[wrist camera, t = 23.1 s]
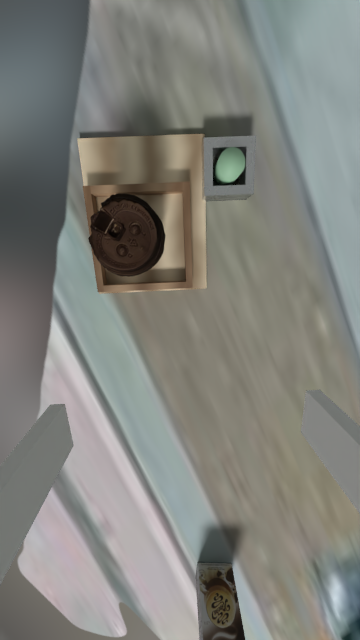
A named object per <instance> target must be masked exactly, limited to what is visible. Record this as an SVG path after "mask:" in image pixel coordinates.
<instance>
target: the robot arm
mask: <svg viewBox="0 0 360 640" xmlns="http://www.w3.org/2000/svg"><path fill="white" fill-rule="evenodd" d="M301 433H302V434H303V436H304V437H305V439H306V440H307V441H308V443H309V444H310V445H311V447H312V448H313V450H314V451H315V452H316V454H317V455H318V457H319V458H320V459H321V461H322V462H323V464H324V465H325V466H326V468H327V469H328V470H329V472H330V473H331V475H332V476H333V477H334V479H335V480H336V482H337V483H338V484H339V486H340V487H341V488H342V490H343V491H344V493H345V494H346V495H347V497H348V498H349V500H350V501H351V502H352V504H353V505H354V507H355V508H356V509H357V511H358V512H359V513H360V426H359V425H358V424H357V423H355V422H354V421H353V420H352V419H351V418H350V417H349V416H348V415H347V414H346V413H345V412H343V411H342V410H341V409H340V408H339V407H338V406H337V405H336V404H335V403H334V402H333V401H331V400H330V399H329V398H328V397H327V396H326V395H325V394H324V393H323V392H322V391H321V390H309V391H306V395H305V404H304V412H303V420H302V428H301ZM72 447H73V441H72V436H71V431H70V426H69V422H68V417H67V412H66V408H65V404H54V405H50V406H49V407H48V408H47V409H46V411H45V412H44V413H43V414H42V416H41V417H40V418H39V419H38V420H37V422H36V423H35V424H34V425H33V427H32V428H31V429H30V430H29V432H28V433H27V434H26V435H25V436H24V438H23V439H22V440H21V441H20V442H19V444H18V445H17V446H16V447H15V448H14V450H13V451H12V452H11V453H10V455H9V456H8V457H7V458H6V460H5V461H4V462H3V463H2V464H1V465H0V585H1V583H2V581H3V579H4V577H5V575H6V573H7V571H8V569H9V567H10V565H11V564H12V562H13V560H14V558H15V556H16V554H17V552H18V550H19V548H20V546H21V545H22V543H23V541H24V539H25V537H26V535H27V533H28V531H29V529H30V527H31V526H32V524H33V522H34V520H35V518H36V516H37V514H38V512H39V510H40V508H41V506H42V505H43V503H44V501H45V499H46V497H47V495H48V493H49V491H50V489H51V487H52V485H53V484H54V482H55V480H56V478H57V476H58V474H59V472H60V470H61V468H62V466H63V464H64V463H65V461H66V459H67V457H68V455H69V453H70V451H71V449H72Z"/></svg>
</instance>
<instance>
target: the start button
mask: <svg viewBox="0 0 360 640" xmlns="http://www.w3.org/2000/svg"><path fill="white" fill-rule="evenodd" d="M244 167H245V157H244V154H243V153H242V151H241V150H240V149H238V148H236V147H229V148H227V149H225V150H224V151H223V152H222V153H221V155H220V157H219V159H218V161H217V163H216V165H215V168H214V178H215V180H216V181H217V183H218V184H220V185H222V186H226V185H231V184H232V183H233V182H234V181H235V180H236V179H237V178H238V177H239V175H240V174H241V173H242V172H243V170H244Z"/></svg>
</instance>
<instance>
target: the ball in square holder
mask: <svg viewBox="0 0 360 640" xmlns="http://www.w3.org/2000/svg"><path fill="white" fill-rule="evenodd" d="M255 146H256V136H232V137H205V138H203V142H202V146H201V149H202V200H206V201H225V200H246V199H247V198H249V197H250V196H251V195H253V194H254V171H255ZM229 147H236V148H238V149H240V150H241V151H242V153H243V154H244V157H245V167H244V170H243V172H242V173H241V174H240V175H239V185H226V186H213V158H219V157H220V155H221V153H222V152H223V151H224V150H225V149H227V148H229Z"/></svg>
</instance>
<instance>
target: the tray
mask: <svg viewBox="0 0 360 640" xmlns="http://www.w3.org/2000/svg"><path fill="white" fill-rule="evenodd" d="M203 138H205V134H183V135H156V136H129V137H102V138H77V140H78V147H79V154H80V161H81V168H82V176H83V183H84V186H83V191H84V198H85V205H86V212H87V219H88V226H89V233H90V236H91V228H90V225H91V219H90V218H91V216H92V215H93V214H94V213H97V212H98V211H100V208H101V207H102V206H101V203H102V202H104V201H105V200H106V199H107V198H109V197H110V196H111V195H116V194H119V193H120V194H123V193H125V194H131V195H135V196H137V197H139V198H141V199H142V200H144V201H146V202H147V203H148V204H149V205H150V207H151V208H152V209H153V210H154V211H155V212H156V213H157V215H158V216H159V218H160V219H161V221H162V224H163V227H164V232H165V235H166V236H165V243H164V252H163V255H162V256H161V258H160V260H159V261H158V263H157V264H156V265H155V266H154V267H152V268H151V269H150V270H149V271H147V272H144V273H142V274H140V275H137V276H130V277H127V276H123V277H121V276H118V275H115V274H113V273H111V272H110V271H108V270H107V269H106V268H104V267H103V266H102V265H101V264H100V263H99V262H98V260H97V258H96V256H95V255H94V253H93V249H92V254H93V261H94V268H95V275H96V282H97V289H98V292H99V294H101V293H122V292H143V291H164V290H185V289H206V288H207V281H206V200H202V149H201V146H202V142H203Z"/></svg>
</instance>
